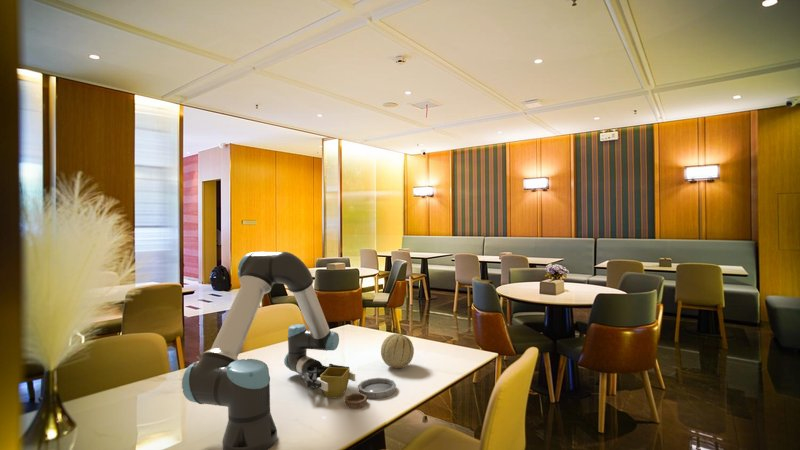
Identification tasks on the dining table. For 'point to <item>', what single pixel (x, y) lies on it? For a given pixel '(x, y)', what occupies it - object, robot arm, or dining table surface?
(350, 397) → the brown octagonal saucer
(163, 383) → the dining table surface
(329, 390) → the flower pot
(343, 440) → the dining table surface
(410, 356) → the cantaloupe
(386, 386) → the grey saucer
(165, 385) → the dining table surface
